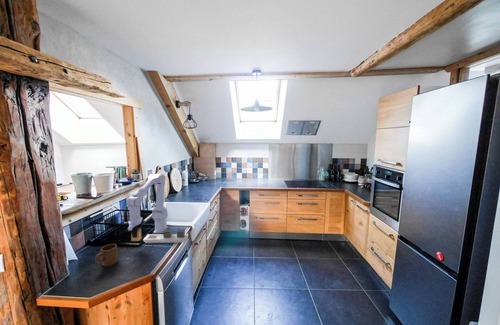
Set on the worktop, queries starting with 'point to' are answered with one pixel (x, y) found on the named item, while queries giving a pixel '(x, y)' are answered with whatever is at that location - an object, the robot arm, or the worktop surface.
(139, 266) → the worktop surface
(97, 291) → the worktop surface
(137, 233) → the plug
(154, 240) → the pdu strip
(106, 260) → the mug
